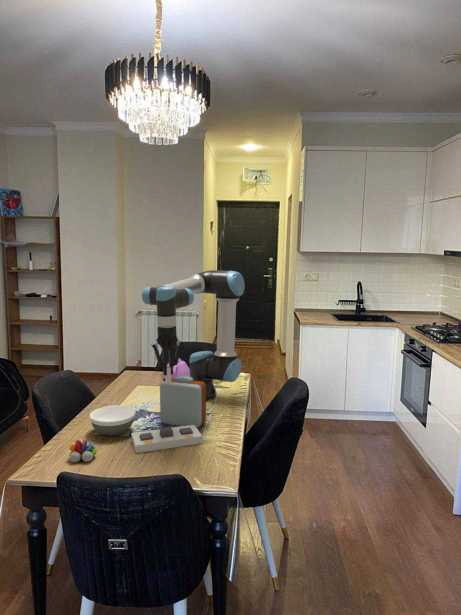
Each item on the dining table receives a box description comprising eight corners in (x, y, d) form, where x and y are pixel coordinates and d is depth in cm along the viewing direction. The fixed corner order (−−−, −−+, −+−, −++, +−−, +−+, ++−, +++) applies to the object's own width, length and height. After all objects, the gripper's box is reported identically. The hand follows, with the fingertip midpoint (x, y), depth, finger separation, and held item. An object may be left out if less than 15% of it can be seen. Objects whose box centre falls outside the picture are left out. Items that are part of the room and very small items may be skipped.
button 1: (151, 440, 186) (150, 432, 186) (153, 444, 182) (152, 436, 182) (140, 441, 185) (139, 434, 184) (141, 446, 181) (141, 438, 180)
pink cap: (188, 385, 257) (188, 364, 255) (160, 385, 258) (159, 363, 256) (192, 374, 279) (192, 354, 277) (166, 373, 279) (166, 354, 278)
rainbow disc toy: (72, 453, 176) (71, 435, 175) (98, 452, 177) (98, 434, 176) (66, 464, 167) (65, 445, 166) (94, 463, 168) (93, 444, 167)
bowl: (95, 444, 183) (94, 424, 182) (86, 427, 200) (85, 409, 198) (141, 435, 192) (141, 416, 190) (129, 420, 208) (128, 402, 207)
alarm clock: (206, 421, 207) (206, 376, 204) (198, 429, 198) (198, 382, 195) (168, 416, 213) (168, 372, 210) (159, 423, 204) (158, 378, 201)
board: (194, 431, 196) (194, 424, 196) (202, 443, 185) (202, 435, 184) (131, 440, 187) (131, 432, 187) (135, 453, 176) (135, 445, 176)
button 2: (190, 434, 191) (190, 427, 191) (192, 439, 187) (192, 431, 187) (179, 436, 190) (179, 428, 189) (182, 440, 186) (182, 432, 185)
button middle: (170, 434, 189) (170, 427, 188) (173, 438, 184) (173, 431, 184) (160, 436, 187) (159, 428, 187) (162, 440, 183) (162, 432, 183)
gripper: (180, 322, 192) (181, 377, 196) (148, 325, 187) (150, 381, 191) (185, 326, 185) (186, 383, 189) (152, 328, 180) (154, 387, 184)
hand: (168, 382), depth 190 cm, fingers closed
